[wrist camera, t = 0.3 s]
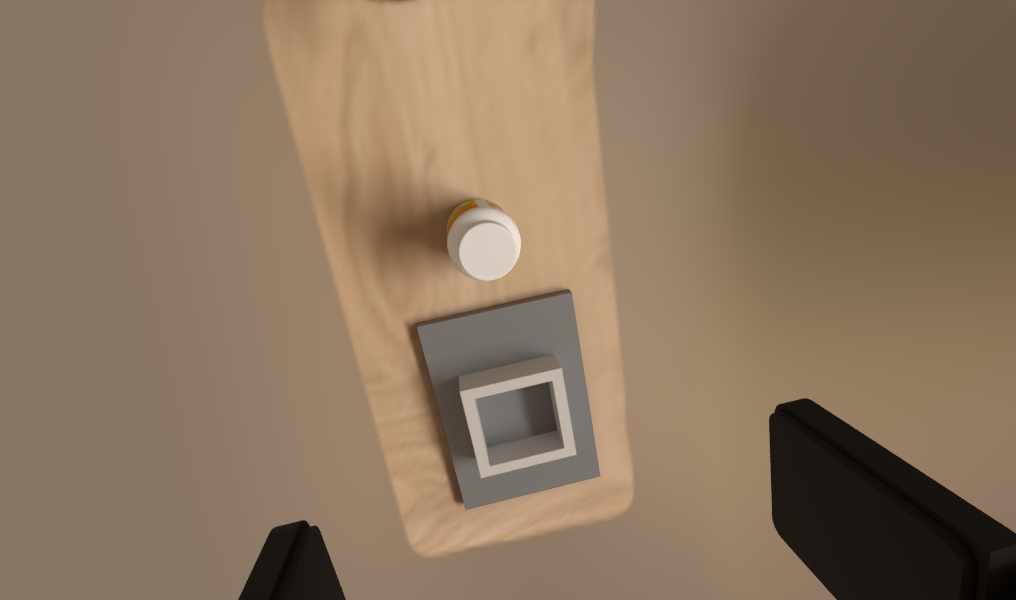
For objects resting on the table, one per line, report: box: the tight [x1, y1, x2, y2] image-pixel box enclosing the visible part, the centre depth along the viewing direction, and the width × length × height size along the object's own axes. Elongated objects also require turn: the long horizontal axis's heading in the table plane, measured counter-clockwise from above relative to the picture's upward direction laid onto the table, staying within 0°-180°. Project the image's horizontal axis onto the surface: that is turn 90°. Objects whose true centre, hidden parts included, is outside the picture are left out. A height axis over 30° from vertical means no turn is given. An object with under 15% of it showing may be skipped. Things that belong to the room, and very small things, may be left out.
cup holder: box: [417, 290, 600, 510], centre depth 45 cm, size 20×14×4 cm
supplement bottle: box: [446, 199, 521, 281], centre depth 37 cm, size 5×5×10 cm
